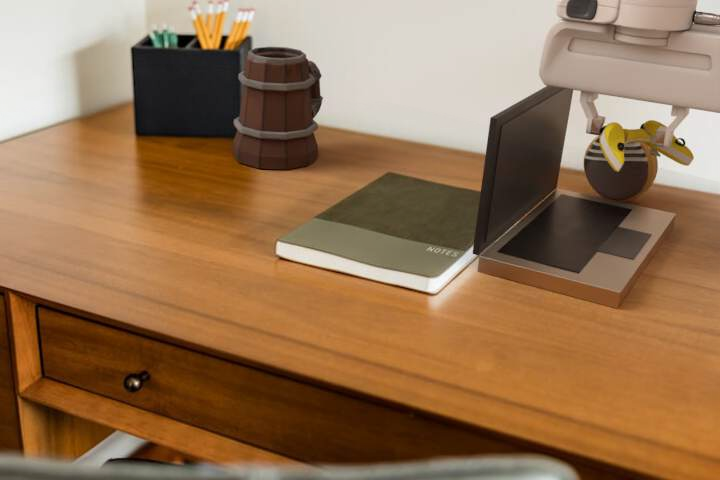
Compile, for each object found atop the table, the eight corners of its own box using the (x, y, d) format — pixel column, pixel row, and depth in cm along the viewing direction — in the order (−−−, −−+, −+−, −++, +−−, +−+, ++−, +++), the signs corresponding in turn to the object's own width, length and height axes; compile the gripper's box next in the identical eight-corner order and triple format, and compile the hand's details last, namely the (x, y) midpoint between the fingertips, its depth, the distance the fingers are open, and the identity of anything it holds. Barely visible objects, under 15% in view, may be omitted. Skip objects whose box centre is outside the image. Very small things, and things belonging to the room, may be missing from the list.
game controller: (650, 137, 101) (665, 113, 99) (682, 176, 98) (698, 152, 95) (580, 142, 97) (594, 117, 95) (610, 183, 94) (626, 158, 91)
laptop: (673, 227, 110) (676, 212, 109) (617, 308, 89) (620, 291, 88) (555, 201, 117) (557, 187, 116) (477, 271, 96) (479, 255, 95)
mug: (282, 176, 121) (284, 65, 115) (216, 157, 127) (214, 51, 121) (349, 150, 133) (354, 48, 127) (286, 134, 139) (287, 36, 133)
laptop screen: (577, 73, 110) (570, 72, 110) (497, 119, 89) (490, 117, 89) (557, 188, 116) (551, 186, 116) (479, 255, 95) (472, 254, 95)
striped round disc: (575, 193, 120) (586, 120, 116) (588, 186, 123) (599, 115, 119) (642, 211, 115) (656, 136, 111) (654, 204, 117) (668, 130, 113)
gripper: (764, 14, 88) (735, 150, 93) (562, -8, 97) (546, 117, 102) (755, 23, 83) (725, 166, 88) (542, -2, 92) (527, 129, 97)
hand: (627, 139), depth 95 cm, fingers closed on game controller, 6 cm apart
